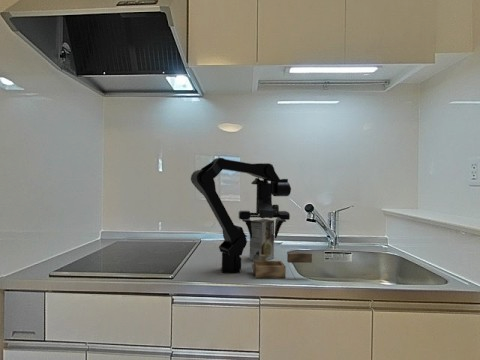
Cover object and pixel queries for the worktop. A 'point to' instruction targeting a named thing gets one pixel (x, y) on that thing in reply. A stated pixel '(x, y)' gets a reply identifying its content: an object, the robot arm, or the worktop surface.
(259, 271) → the open wooden box
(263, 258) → the lid
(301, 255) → the brown rectangular block
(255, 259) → the coffee box
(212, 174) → the robot arm
